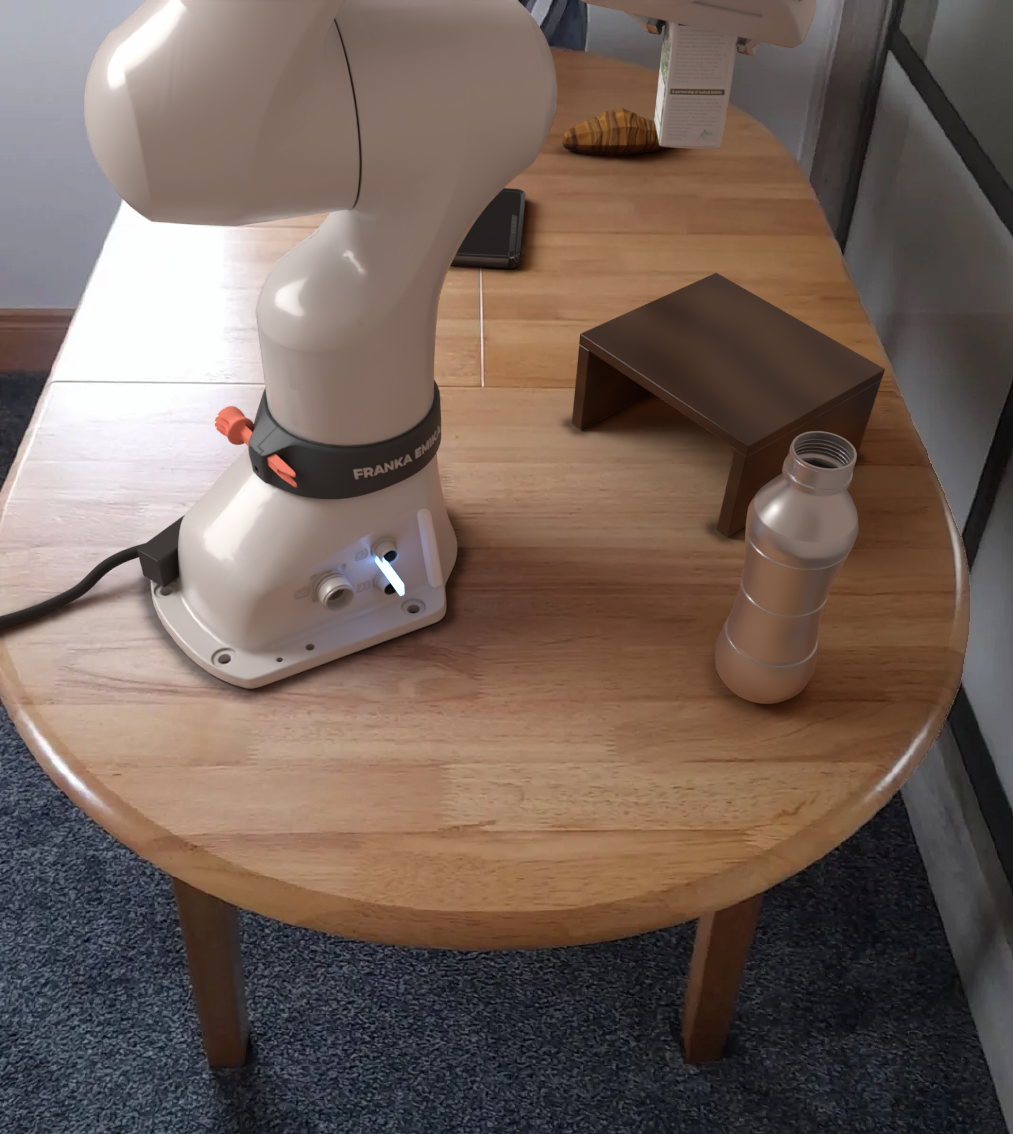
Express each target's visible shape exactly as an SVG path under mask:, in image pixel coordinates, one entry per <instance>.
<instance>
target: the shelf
mask: <svg viewBox="0 0 1013 1134" xmlns="http://www.w3.org/2000/svg"><path fill="white" fill-rule="evenodd" d="M578 344H579V346H578V352H577V353H578V354H577V362H576V363H577V365H576V375H575V383H574V384H575V385H574V396H573V405H572V417H571V424H572V425H573V426H574V427H576V429H579V430H581V431H582V430H584V429H586V428H588V427H590V426H592V425H593V424H596V423H598V422H600V421H602V420H604V419H606V418H608V417H611V415H613V414H617V413H618V412H619V411H622V410H623V409H626V408H628V407H631V406H632V405H633V404H635V403H637V402H640V401H641V400H642V401H643V399H645V398H648V397H650V396H651V395H654V396H656V397H657V398H659V399H660V400H662V402H664V403H666V404H668V405H669V406H670V407H672V408H674V409H675V410H676V411H678V412H679V413H681V414H682V415H684V416H686V417H687V418H688V419H690V420H691V421H692V422H694V423H696V424H697V425H699V426H700V427H702V428H703V429H705V430H706V431H708V432H709V433H711V435H713V436H715V437H717V438H718V439H719V440H721V441H723V442H724V443H725V444H727V445H728V446H730V447H731V448H732V449H734V450H733V454H732V459H731V463H730V464H731V465H730V467H729V473H728V477H727V481H726V486H725V491H724V494H723V500H722V504H721V508H720V513H719V517H718V521H717V526H716V530H717V532H720V533H721V534H722V535H724V536H725V537H727V538H729V537H731V536H733V535H734V534H735V533H737V532H739V531H740V530H742V529H743V528H746V519H747V512H748V507H749V505H750V503H751V501H752V499H753V498H754V496H755V495H756V493H757V492H758V491H759V490H760V489H761V487H763V486H764V485H765V484H767V483H768V482H770V481H771V480H772V479H774V478H775V477H777V476H779V475H780V474H782V467H783V464H784V461H785V458H786V457H787V456H788V453H789V449H790V446H791V444H792V442H793V440H794V439H795V438H796V437H797V436H798V435H800V434H803V433H806V432H811V431H823V432H829V433H833V434H836V435H838V436H841V437H843V438H844V439H846V440H847V441H849V442H850V443H851V444H852V445H853V446H854V448H855V450H856V453H857V457H856V459H857V458H858V455H859V452H860V449H861V446H862V443H863V439H864V436H865V433H866V430H867V427H868V424H869V420H870V418H871V414H872V412H873V409H874V405H875V403H876V400H877V396H878V392H879V389H880V386H881V382H882V380H883V377H884V374H885V371H886V369H885V368H884V367H882V366H881V365H879V364H877V363H876V362H874V361H872V360H870V359H868V358H867V357H865V356H863V355H862V354H859V353H858V352H856V351H854V350H852V349H851V348H849V347H848V346H845V345H844V344H842V343H840V342H839V341H837V340H835V339H833V338H832V337H830V336H828V335H826V334H825V333H823V332H821V331H819V330H818V329H816V328H814V327H812V326H810V325H809V324H807V323H806V322H804V321H802V320H800V319H798V318H796V317H795V316H793V315H791V314H789V313H788V312H786V311H785V310H782V309H781V308H779V307H777V306H776V305H774V304H772V303H771V302H768V301H766V300H765V299H763V298H762V297H760V296H759V295H756V294H755V293H753V292H751V291H749V290H747V289H746V288H744V287H742V286H740V285H739V284H737V283H736V282H733V281H732V280H730V279H728V278H727V277H725V276H723V275H721V274H720V273H717V272H714V273H712V274H710V275H707V276H705V277H703V278H701V279H698V280H697V281H694V282H693V283H690V284H688V285H686V286H683V287H681V288H679V289H677V290H675V291H671V292H670V293H668V294H665V295H663V296H661V297H659V298H656V299H655V300H652V301H650V302H648V303H646V304H643V305H641V306H639V307H637V308H634V309H632V310H630V311H628V312H626V313H623V314H620V315H619V316H617V317H615V318H614V317H613V318H612V319H610V320H608V321H605V322H604V323H601V324H599V325H597V326H595V327H592V328H591V329H588V330H585V331H583V332H581V333H579V343H578Z"/></svg>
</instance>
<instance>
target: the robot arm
mask: <svg viewBox="0 0 1013 1134" xmlns="http://www.w3.org/2000/svg"><path fill="white" fill-rule="evenodd" d="M580 1H581V2H583V3H585V4H587V5H591V6H598V7H601V8H606V9H611V10H615V11H619V12H623V13H625V14H626V15H628V16H629V17H630V18H632V19H633V20H635V22H637V23H638V24H640V25H641V28H642V31H643V33H647V34H652V35H658V36H661V34H662V32H663V28H664V27H665V21H669V22H674V23H678V24H683V25H687V26H692V27H696V28H701V29H706V30H710V31H715V32H719V33H724V34H728V35H733V36H737V37H738V40H737V42H736V47H737V49H736V53H738V54H741V55H746V56H749V57H755V56H756V55H757V53H758V50H759V48H760V46H761V43H765V44H769V45H775V46H779V47H783V48H788V49H792V48H795V47H798V46H800V45H802V44H803V43H804V41H805V39H806V37H807V35H808V33H809V30H810V28H811V26H812V23H813V21H814V18H815V15H816V11H817V0H580ZM557 77H558V76H557V71H556V64H555V61H554V58H553V53H552V51H551V49H550V45H549V43H548V41H547V38H546V36H545V34H544V32H543V30H542V29H541V27H540V25H539V23H538V22H537V20H536V19H535V18H534V17H533V15H532V14H531V12H530V11H529V10H528V9H527V8H526V7H525V6H524V5H523V4H522V3H521V2H520V1H519V0H144V1H143V2H142V3H141V4H140V5H139V6H138V8H137V9H136V10H134V11H133V13H131V14H130V15H129V16H128V17H127V18H126V19H124V20H123V21H122V22H121V23H119V24H118V25H117V26H116V27H114V28H113V29H112V30H110V31H109V32H108V33H107V35H106V36H105V38H104V40H103V41H102V42H101V43H100V45H99V47H98V49H97V50H96V53H95V54H94V56H93V59H92V61H91V64H90V66H89V70H88V73H87V77H86V82H85V86H84V94H83V95H84V97H83V98H84V99H83V113H84V114H83V116H84V125H85V130H86V135H87V139H88V143H89V146H90V149H91V152H92V154H93V157H94V160H95V161H96V163H97V165H98V167H99V170H101V171H100V172H101V173H102V175H103V176H104V177H105V179H106V181H107V182H108V184H109V185H110V186H111V188H112V189H113V190H114V191H115V192H116V194H117V195H118V196H119V197H120V198H121V199H122V200H123V201H124V202H125V203H126V204H127V205H128V207H130V208H132V209H133V210H134V211H135V212H137V213H138V214H139V215H141V216H142V217H143V218H145V219H146V220H148V221H149V222H151V223H164V224H177V225H191V226H213V227H241V226H247V225H248V226H249V225H255V224H261V223H267V222H275V221H280V220H289V219H294V218H300V217H307V216H313V215H320V214H328V215H327V217H326V218H325V219H324V221H322V223H321V224H320V225H319V226H318V227H317V228H316V229H315V230H314V231H313V232H311V233H310V234H309V235H308V236H306V237H305V238H303V240H301V241H300V242H298V243H297V244H295V245H294V246H293V247H292V248H290V249H289V250H288V251H286V252H285V253H284V254H282V256H281V257H280V258H278V260H277V261H276V262H275V263H274V265H273V266H272V267H271V269H270V271H269V272H268V274H267V276H266V278H265V280H264V282H263V283H262V285H261V287H260V288H261V289H260V291H259V294H258V297H257V302H256V307H255V319H256V327H257V335H258V341H259V342H258V343H259V350H260V359H261V367H262V374H263V381H264V389H263V392H262V394H261V398H260V401H259V404H258V408H257V410H256V414H255V418H254V422H253V420H251V418H248V417H246V415H245V414H244V413H243V411H242V410H241V409H240V408H238V406H234V405H229V406H226V407H224V408H222V409H221V410H220V411H219V412H218V413H217V416H216V417H215V419H214V422H215V423H214V426H215V430H216V431H217V432H219V433H220V434H221V435H223V436H225V437H226V438H227V440H228V442H229V443H230V444H232V445H233V446H240V445H244V444H245V445H246V446H248V447H246V449H244V450H243V452H241V454H239V456H238V457H237V458H236V459H235V460H234V461H233V462H232V463H231V464H230V466H228V468H226V470H225V471H224V472H223V473H222V474H221V475H220V477H219V478H217V479H216V481H215V482H214V483H213V484H212V485H211V486H210V487H209V488H208V489H207V490H206V491H205V492H204V494H202V496H201V497H200V498H198V500H196V502H194V504H193V505H192V506H190V508H189V509H187V511H186V512H185V514H184V515H182V516H181V517H180V518H178V519H177V520H175V521H174V522H173V523H171V524H170V525H168V526H167V527H165V528H164V529H163V530H162V531H160V532H159V533H158V534H156V535H155V536H153V537H152V538H150V539H149V540H148V541H146V542H144V543H140V544H137V545H134V546H131V547H128V548H125V549H123V550H121V551H118V552H116V553H114V554H112V555H109V556H108V557H107V558H105V559H104V560H102V561H101V562H99V563H98V564H97V565H96V566H94V568H93V569H91V571H89V573H88V574H87V575H85V577H83V578H82V579H81V581H79V582H78V583H77V584H75V585H74V586H73V587H70V588H69V589H67V590H65V591H63V592H61V593H60V594H57V595H55V596H53V597H52V598H48V599H47V600H45V601H43V602H40V603H38V604H34V605H32V606H29V607H27V608H24V609H21V610H18V611H14V612H11V613H6V614H4V615H0V630H2V629H5V628H9V627H13V626H16V625H20V624H22V623H26V622H29V621H31V620H34V619H35V620H36V619H38V618H40V617H42V616H44V615H47V614H50V613H52V612H54V611H57V610H58V609H60V608H63V607H64V606H67V605H68V604H71V603H72V602H75V601H76V600H79V599H80V598H81V597H83V596H84V595H85V594H87V593H88V592H89V591H90V590H91V589H92V588H94V586H95V585H96V584H98V582H99V581H100V580H101V579H103V578H104V577H105V576H106V575H107V574H108V573H109V572H110V571H112V570H113V569H115V568H117V567H118V566H121V565H123V564H125V563H127V562H130V561H132V560H136V559H139V563H140V564H139V565H140V567H141V571H142V576H144V577H146V578H147V579H148V580H150V591H151V600H152V603H153V609H154V610H155V612H156V615H157V617H158V619H159V621H160V623H161V624H162V626H163V627H164V629H165V630H166V632H167V633H168V635H169V636H170V637H171V638H172V640H173V642H174V643H176V645H177V646H178V647H179V648H180V649H181V650H182V652H184V653H185V655H186V656H188V657H189V659H191V660H192V661H193V662H194V663H195V664H196V665H197V666H199V667H200V668H201V669H203V670H204V671H205V672H207V673H208V674H210V675H212V676H213V677H215V678H217V679H219V680H221V681H224V682H226V683H228V684H231V685H234V686H236V687H240V688H244V689H248V690H249V689H250V690H252V689H258V688H261V687H264V686H267V685H270V684H273V683H275V682H278V681H280V680H284V679H286V678H289V677H292V676H294V675H297V674H300V673H302V672H303V673H304V672H306V671H308V670H311V669H314V668H316V667H319V666H322V665H324V664H327V663H330V662H332V661H335V660H338V659H340V658H341V659H342V658H344V657H346V656H349V655H351V654H355V653H357V652H361V651H362V650H366V649H368V648H371V647H373V646H376V645H378V644H381V643H384V642H388V641H390V640H392V639H396V638H398V637H400V636H403V635H405V634H409V633H411V632H414V631H417V630H419V629H422V628H425V627H428V626H430V625H433V624H436V623H438V622H440V621H441V620H442V619H443V618H444V617H445V615H446V613H447V606H448V605H447V594H446V586H447V582H448V579H449V578H450V575H451V574H452V571H453V569H454V567H455V564H456V561H457V555H458V540H457V535H456V531H455V530H454V527H453V525H452V523H451V521H450V517H449V514H448V511H447V507H446V504H445V500H444V499H445V498H444V495H443V490H442V484H441V478H440V471H439V463H438V450H439V448H440V445H441V442H442V408H441V394H440V393H441V392H440V387H439V385H438V383H437V381H436V379H435V355H436V354H435V353H436V351H435V350H436V337H437V336H436V334H437V324H438V323H437V321H438V312H439V311H438V310H439V304H440V298H441V297H440V296H441V293H442V290H443V287H444V283H445V280H446V277H447V275H448V272H449V270H450V267H451V266H452V265H451V263H452V261H453V259H454V257H455V255H456V253H457V251H458V249H459V247H460V245H461V244H462V242H463V240H464V238H465V237H466V235H467V233H468V232H469V230H470V229H471V227H472V226H473V224H474V223H475V221H476V220H477V218H478V217H479V216H480V214H481V213H482V212H483V211H484V209H485V208H486V207H487V205H488V204H489V203H490V202H491V201H492V200H493V199H494V198H495V197H496V196H497V195H498V193H499V192H500V191H501V190H502V189H504V188H507V186H508V185H510V183H511V182H512V181H514V180H515V179H516V178H517V177H518V176H520V175H521V174H522V173H523V172H525V171H526V170H528V169H529V168H530V167H532V165H533V164H534V163H535V161H536V160H537V158H538V156H539V155H540V154H541V152H542V150H543V149H544V147H545V145H546V142H547V141H548V138H549V136H550V133H551V131H552V127H553V125H554V120H555V116H556V110H557V103H558V78H557ZM413 612H414V613H413Z"/></svg>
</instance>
